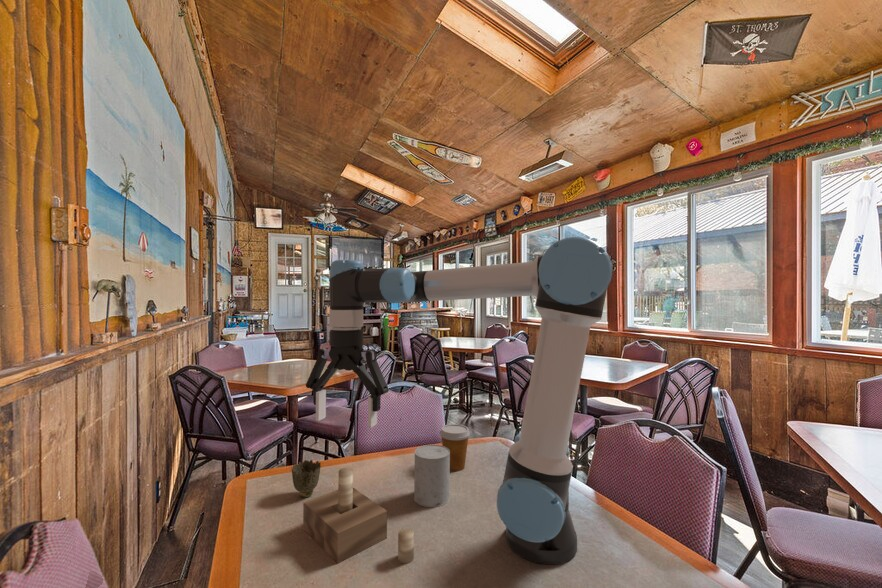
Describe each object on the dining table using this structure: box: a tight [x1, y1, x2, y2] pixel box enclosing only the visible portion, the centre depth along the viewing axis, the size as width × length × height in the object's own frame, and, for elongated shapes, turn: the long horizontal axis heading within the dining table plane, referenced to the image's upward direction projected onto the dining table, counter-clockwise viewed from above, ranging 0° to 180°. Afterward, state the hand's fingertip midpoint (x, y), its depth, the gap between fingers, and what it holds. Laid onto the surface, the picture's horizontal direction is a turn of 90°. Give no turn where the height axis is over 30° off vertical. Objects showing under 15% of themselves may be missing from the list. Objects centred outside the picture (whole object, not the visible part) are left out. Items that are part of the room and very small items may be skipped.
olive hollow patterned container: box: [291, 459, 322, 498], centre depth 103 cm, size 8×7×8 cm
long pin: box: [337, 467, 354, 514], centre depth 87 cm, size 3×3×14 cm
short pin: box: [397, 528, 415, 565], centre depth 78 cm, size 3×3×5 cm
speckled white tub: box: [413, 444, 451, 508], centre depth 102 cm, size 10×10×12 cm
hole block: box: [302, 487, 388, 564], centre depth 87 cm, size 16×12×6 cm
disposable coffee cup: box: [439, 423, 471, 472], centre depth 121 cm, size 10×10×12 cm
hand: (346, 422), depth 87 cm, fingers open, 13 cm apart
